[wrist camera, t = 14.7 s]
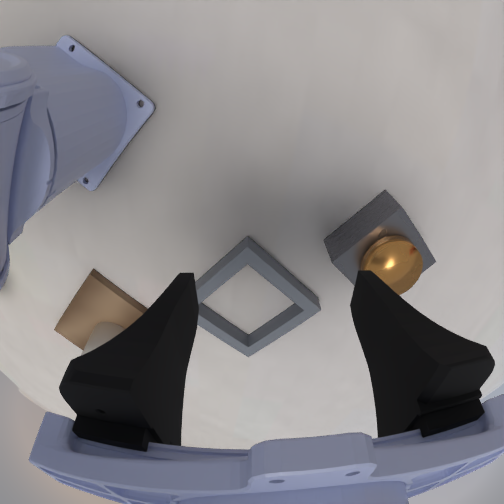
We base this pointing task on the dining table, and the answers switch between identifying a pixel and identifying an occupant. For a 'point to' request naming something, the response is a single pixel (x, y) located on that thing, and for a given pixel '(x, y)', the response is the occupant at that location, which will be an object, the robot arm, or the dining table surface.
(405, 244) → the plunger
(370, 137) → the dining table surface
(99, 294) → the pad
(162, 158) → the dining table surface
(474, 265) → the dining table surface
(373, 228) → the plunger base
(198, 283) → the collar
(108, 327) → the cylinder
